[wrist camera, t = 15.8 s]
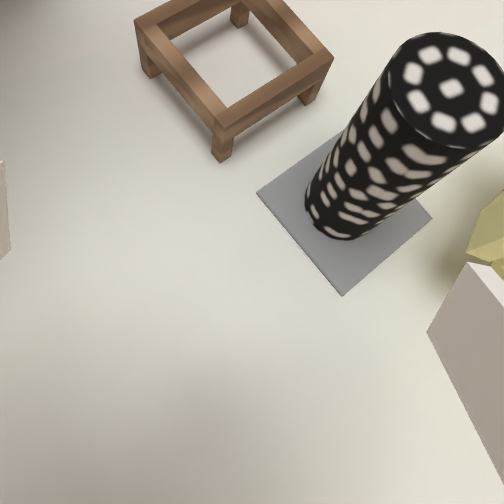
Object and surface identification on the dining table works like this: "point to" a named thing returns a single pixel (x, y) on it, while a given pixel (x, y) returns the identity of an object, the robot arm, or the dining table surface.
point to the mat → (331, 250)
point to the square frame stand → (194, 87)
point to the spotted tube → (408, 133)
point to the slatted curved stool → (490, 235)
